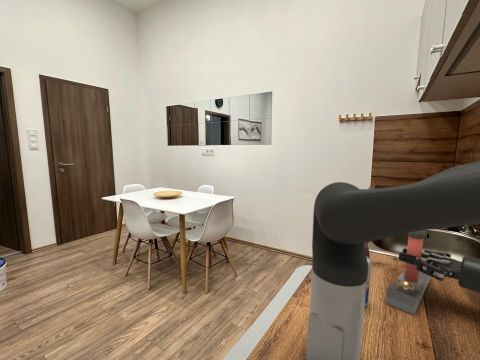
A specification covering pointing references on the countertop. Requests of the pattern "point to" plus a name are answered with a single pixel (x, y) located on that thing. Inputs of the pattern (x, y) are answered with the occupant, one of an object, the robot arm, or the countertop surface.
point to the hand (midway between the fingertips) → (401, 254)
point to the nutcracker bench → (408, 308)
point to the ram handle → (416, 250)
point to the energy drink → (368, 281)
